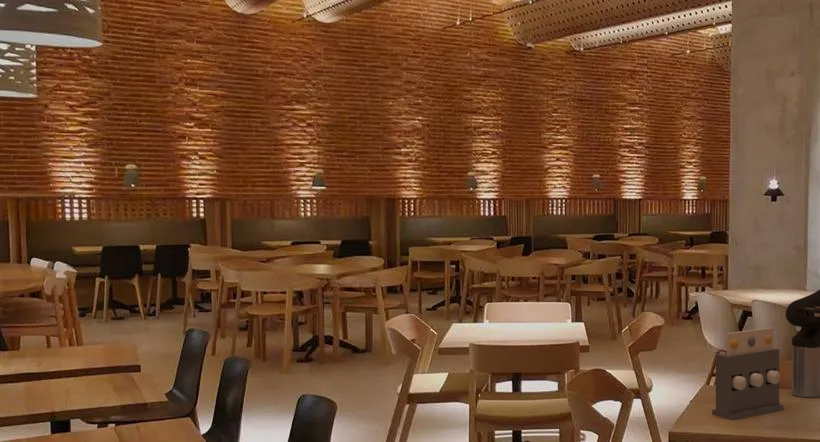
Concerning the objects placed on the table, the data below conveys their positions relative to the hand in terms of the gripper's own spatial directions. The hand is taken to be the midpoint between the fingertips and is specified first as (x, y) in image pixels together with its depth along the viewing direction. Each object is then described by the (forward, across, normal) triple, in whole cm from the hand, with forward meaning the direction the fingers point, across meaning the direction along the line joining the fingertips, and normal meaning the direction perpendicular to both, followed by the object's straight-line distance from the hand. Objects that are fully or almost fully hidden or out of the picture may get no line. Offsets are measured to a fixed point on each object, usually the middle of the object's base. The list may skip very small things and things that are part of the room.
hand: (803, 309), depth 267 cm
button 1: (+12, +16, +25) cm, 32 cm away
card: (+13, +8, +14) cm, 21 cm away
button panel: (+14, +8, +34) cm, 37 cm away
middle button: (+12, +8, +25) cm, 29 cm away
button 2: (+12, 0, +25) cm, 28 cm away
